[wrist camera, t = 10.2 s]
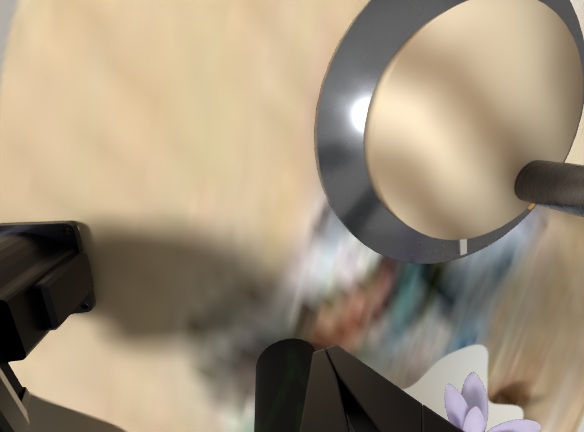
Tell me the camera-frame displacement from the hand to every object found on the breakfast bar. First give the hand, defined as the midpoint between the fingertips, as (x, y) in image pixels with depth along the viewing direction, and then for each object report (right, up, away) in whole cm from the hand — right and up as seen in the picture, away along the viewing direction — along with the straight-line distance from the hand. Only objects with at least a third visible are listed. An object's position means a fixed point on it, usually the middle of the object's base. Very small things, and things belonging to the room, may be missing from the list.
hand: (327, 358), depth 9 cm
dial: (+11, +10, +10) cm, 18 cm away
